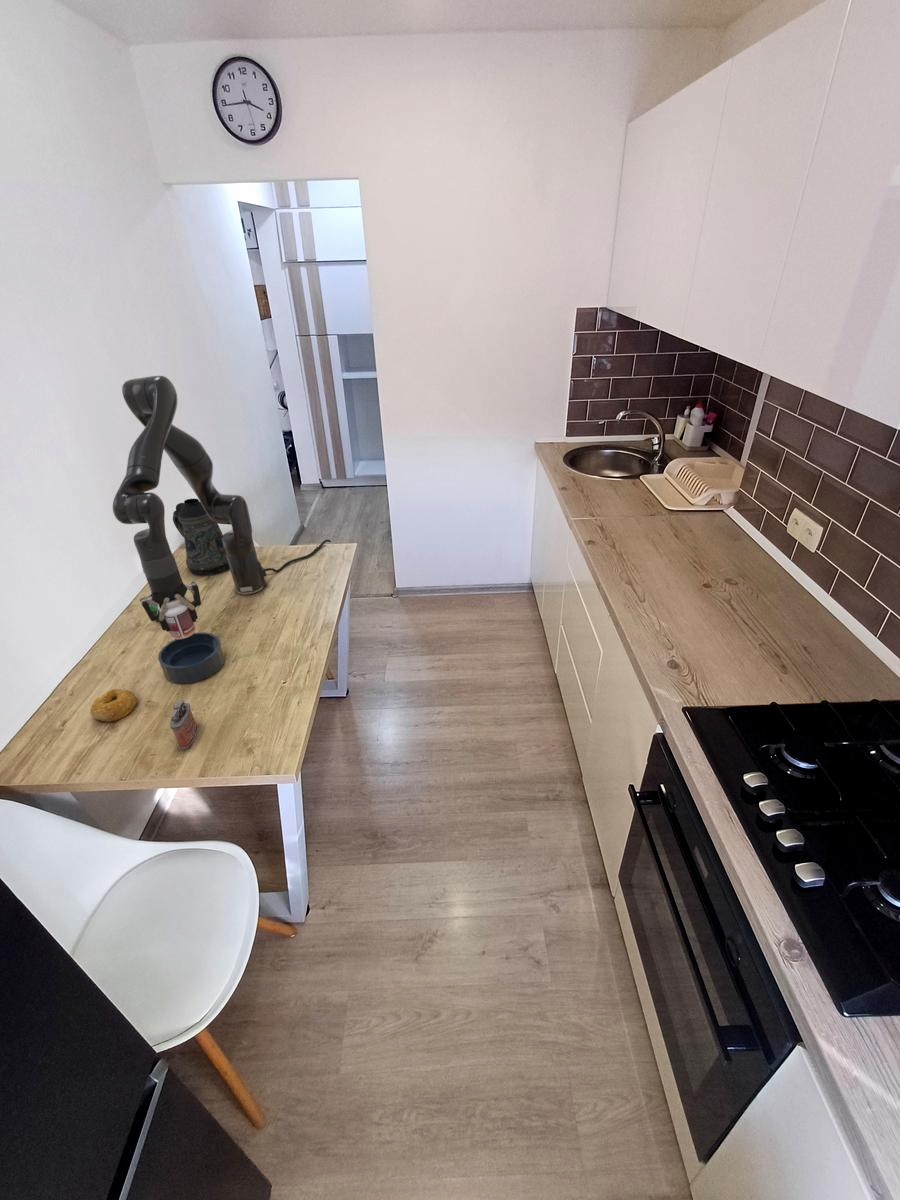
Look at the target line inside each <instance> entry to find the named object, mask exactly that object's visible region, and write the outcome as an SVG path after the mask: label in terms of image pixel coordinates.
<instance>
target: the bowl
mask: <svg viewBox="0 0 900 1200" xmlns="http://www.w3.org/2000/svg"><path fill="white" fill-rule="evenodd" d="M157 660H158V663H159V665H160V668H161V670H162V672H163V675H164V677H165V679H166V680H168V681H169V682H172V683H176V684H191V683H194V682H199V681H201V680H204V679H207V678H209V677H210V676H212V675H213V674H215V673H216V672H218V671H219V670H220V669H221V668H222V667H223V664H225V661H226V654H225V651H224V648H223V644H222V641H221V640H220V638H219V636H217V635H215V634H214V633H211V632H206V631H205V632H204V631H203V632H195V633H194V634H193V635H191V636H190V637H187V638H185V639H173V640H171V641H169V642H168V643H167V644H165V645H164V646H163V647H162V648H161V650H160V651H159V653H158V656H157Z"/></svg>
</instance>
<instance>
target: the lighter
mask: <svg viewBox="0 0 900 1200" xmlns="http://www.w3.org/2000/svg"><path fill="white" fill-rule="evenodd" d="M191 707H192V706H191V704H190V703H189V702H185V701H184V699H182V698H181V699H178V700H177V701H176V704H174V705H173V706H172V713H171V715H170V717H169V718H170V721H169V727H170V730H172V732H173V735H174V736H175V739H176V742H177V744H178V749H179V750H180V751H181V752H185V751H188V750H190V749H191V748H192V747H193V745H194V744H195V741H196V740H197V737H198V735H199V730H200V729H199V725H198V723H197V722H196V720H195V717H194V714H193V711H192V709H191Z"/></svg>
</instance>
